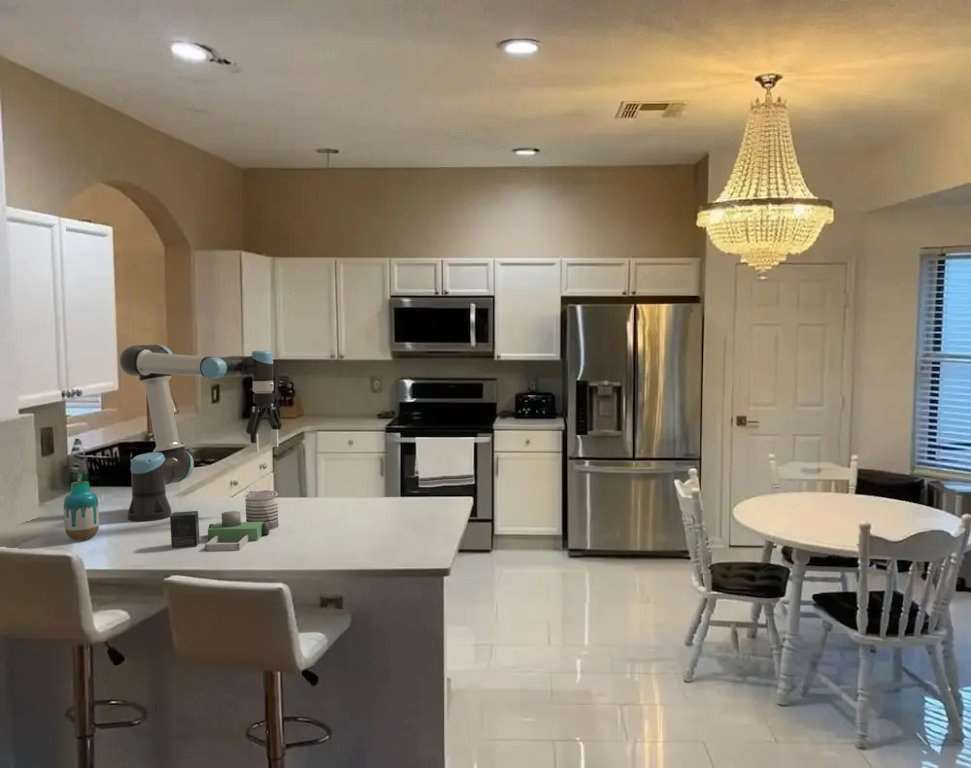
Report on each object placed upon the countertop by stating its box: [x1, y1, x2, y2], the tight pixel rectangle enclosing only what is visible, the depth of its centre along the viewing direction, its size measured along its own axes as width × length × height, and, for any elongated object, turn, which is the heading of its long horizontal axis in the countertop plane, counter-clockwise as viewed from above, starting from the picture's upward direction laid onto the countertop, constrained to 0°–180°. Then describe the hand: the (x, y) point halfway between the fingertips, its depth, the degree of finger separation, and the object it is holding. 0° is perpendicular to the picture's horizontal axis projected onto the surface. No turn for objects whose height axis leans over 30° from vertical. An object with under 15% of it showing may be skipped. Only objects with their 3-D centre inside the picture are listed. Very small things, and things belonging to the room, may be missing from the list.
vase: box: [63, 481, 100, 541], centre depth 280 cm, size 11×11×19 cm
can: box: [244, 489, 279, 531], centre depth 293 cm, size 11×11×12 cm
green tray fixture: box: [204, 510, 271, 552], centre depth 273 cm, size 19×22×8 cm
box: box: [169, 510, 200, 549], centre depth 269 cm, size 8×6×11 cm
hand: (265, 449), depth 312 cm, fingers open, 13 cm apart
